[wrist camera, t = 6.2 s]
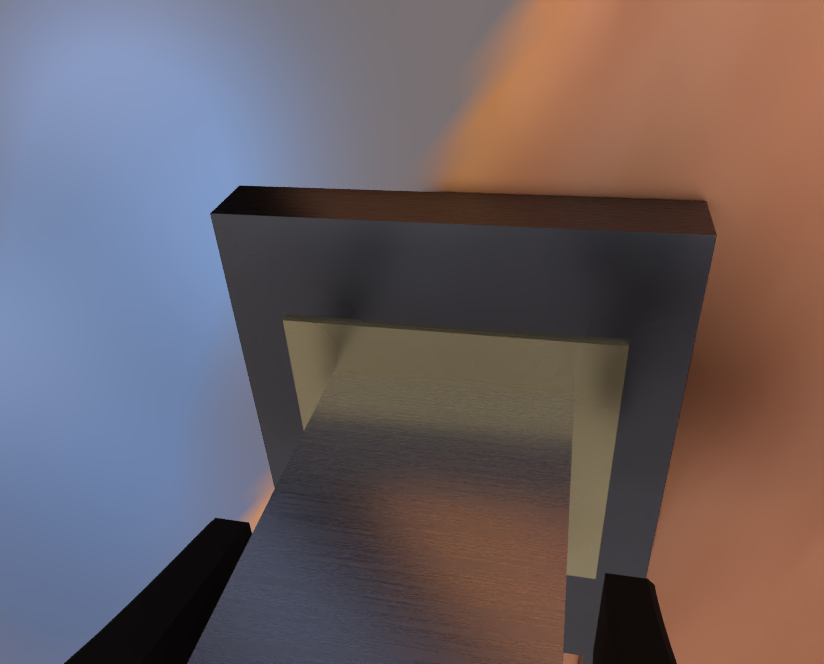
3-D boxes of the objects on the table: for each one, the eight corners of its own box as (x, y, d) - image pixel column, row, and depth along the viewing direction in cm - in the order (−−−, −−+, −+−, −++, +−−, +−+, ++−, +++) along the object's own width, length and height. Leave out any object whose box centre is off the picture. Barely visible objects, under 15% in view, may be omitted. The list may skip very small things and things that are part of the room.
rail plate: (706, 200, 11) (717, 237, 10) (588, 814, 23) (588, 860, 22) (239, 185, 13) (208, 216, 12) (358, 766, 25) (348, 806, 24)
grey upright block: (573, 394, 12) (556, 795, 7) (558, 558, 15) (537, 943, 10) (333, 373, 13) (161, 713, 8) (356, 530, 16) (237, 868, 10)
